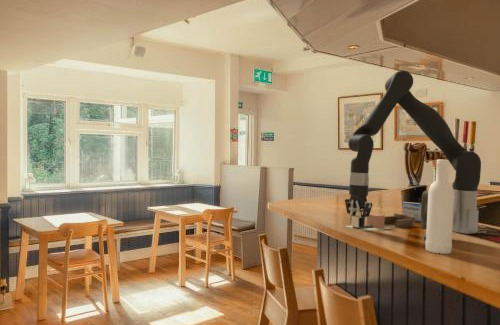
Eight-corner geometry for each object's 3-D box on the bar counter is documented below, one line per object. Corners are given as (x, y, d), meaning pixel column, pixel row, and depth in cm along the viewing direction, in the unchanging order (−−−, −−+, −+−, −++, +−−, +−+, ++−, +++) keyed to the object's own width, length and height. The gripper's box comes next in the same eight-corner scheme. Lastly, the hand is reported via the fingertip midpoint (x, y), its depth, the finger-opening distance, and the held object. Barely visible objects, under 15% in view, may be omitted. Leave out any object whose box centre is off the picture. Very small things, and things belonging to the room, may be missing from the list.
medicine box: (401, 220, 197) (402, 202, 197) (403, 219, 201) (403, 201, 201) (419, 222, 193) (420, 203, 193) (420, 221, 197) (421, 202, 197)
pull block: (384, 227, 176) (384, 215, 175) (358, 229, 169) (359, 217, 169) (375, 225, 180) (375, 213, 180) (350, 227, 173) (350, 215, 173)
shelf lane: (416, 227, 181) (416, 217, 180) (363, 232, 166) (364, 220, 166) (396, 222, 190) (396, 213, 190) (344, 226, 176) (345, 216, 176)
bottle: (422, 251, 137) (427, 159, 136) (427, 246, 144) (432, 158, 143) (449, 255, 133) (454, 160, 132) (453, 250, 139) (458, 160, 138)
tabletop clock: (427, 234, 166) (430, 170, 165) (452, 237, 161) (455, 172, 160) (419, 240, 154) (422, 172, 153) (446, 244, 149) (450, 173, 148)
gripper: (378, 185, 167) (376, 228, 167) (353, 182, 179) (352, 222, 180) (364, 185, 163) (362, 229, 164) (340, 182, 176) (338, 223, 176)
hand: (357, 225), depth 172 cm, fingers closed on pull block, 4 cm apart
